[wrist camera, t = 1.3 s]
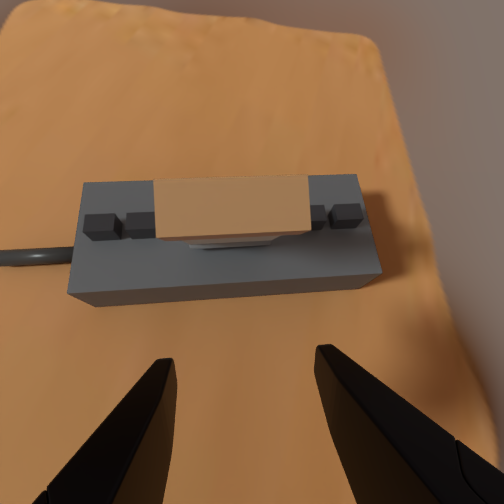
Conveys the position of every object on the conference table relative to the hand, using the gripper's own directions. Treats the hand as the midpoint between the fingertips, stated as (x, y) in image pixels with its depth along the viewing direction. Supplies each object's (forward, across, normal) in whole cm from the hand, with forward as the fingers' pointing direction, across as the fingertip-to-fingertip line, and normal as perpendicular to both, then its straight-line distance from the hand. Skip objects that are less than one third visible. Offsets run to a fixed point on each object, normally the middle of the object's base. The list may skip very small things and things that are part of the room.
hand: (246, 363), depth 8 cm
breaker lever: (+12, 0, 0) cm, 12 cm away
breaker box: (+16, +4, +3) cm, 17 cm away
